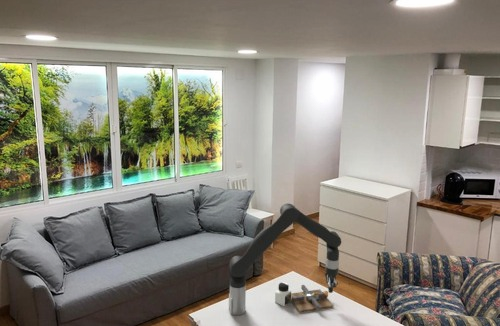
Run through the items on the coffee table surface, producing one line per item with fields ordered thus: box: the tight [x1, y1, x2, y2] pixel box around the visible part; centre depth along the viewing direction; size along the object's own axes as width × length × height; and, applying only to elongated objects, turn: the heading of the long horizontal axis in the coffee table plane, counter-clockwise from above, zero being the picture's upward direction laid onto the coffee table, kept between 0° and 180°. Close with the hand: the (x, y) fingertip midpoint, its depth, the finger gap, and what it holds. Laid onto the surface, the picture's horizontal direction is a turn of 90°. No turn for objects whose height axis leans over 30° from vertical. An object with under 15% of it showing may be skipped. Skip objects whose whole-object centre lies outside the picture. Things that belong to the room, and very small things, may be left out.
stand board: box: [290, 289, 334, 314], centre depth 234 cm, size 22×18×2 cm
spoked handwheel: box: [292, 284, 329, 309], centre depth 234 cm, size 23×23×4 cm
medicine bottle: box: [274, 281, 292, 307], centre depth 233 cm, size 7×7×12 cm
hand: (330, 292), depth 228 cm, fingers closed
